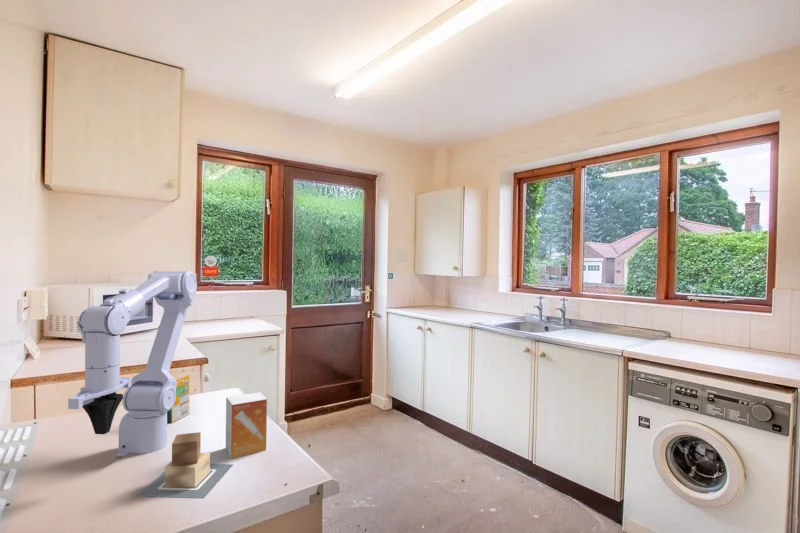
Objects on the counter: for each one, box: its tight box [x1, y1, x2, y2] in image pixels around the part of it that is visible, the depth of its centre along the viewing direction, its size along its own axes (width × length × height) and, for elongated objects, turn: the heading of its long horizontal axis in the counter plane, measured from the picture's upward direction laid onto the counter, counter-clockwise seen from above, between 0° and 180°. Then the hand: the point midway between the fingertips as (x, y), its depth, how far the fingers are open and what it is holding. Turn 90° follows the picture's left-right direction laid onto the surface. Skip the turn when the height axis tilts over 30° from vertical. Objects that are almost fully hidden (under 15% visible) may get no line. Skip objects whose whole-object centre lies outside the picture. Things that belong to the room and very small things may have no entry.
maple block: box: [164, 452, 211, 488], centre depth 85 cm, size 6×6×4 cm
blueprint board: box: [135, 463, 234, 499], centre depth 85 cm, size 13×13×1 cm
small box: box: [225, 391, 268, 459], centre depth 98 cm, size 8×6×13 cm
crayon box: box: [167, 374, 191, 424], centre depth 119 cm, size 7×3×12 cm, turn 169°
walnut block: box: [171, 431, 201, 467], centre depth 85 cm, size 4×4×4 cm
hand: (102, 432), depth 84 cm, fingers closed
